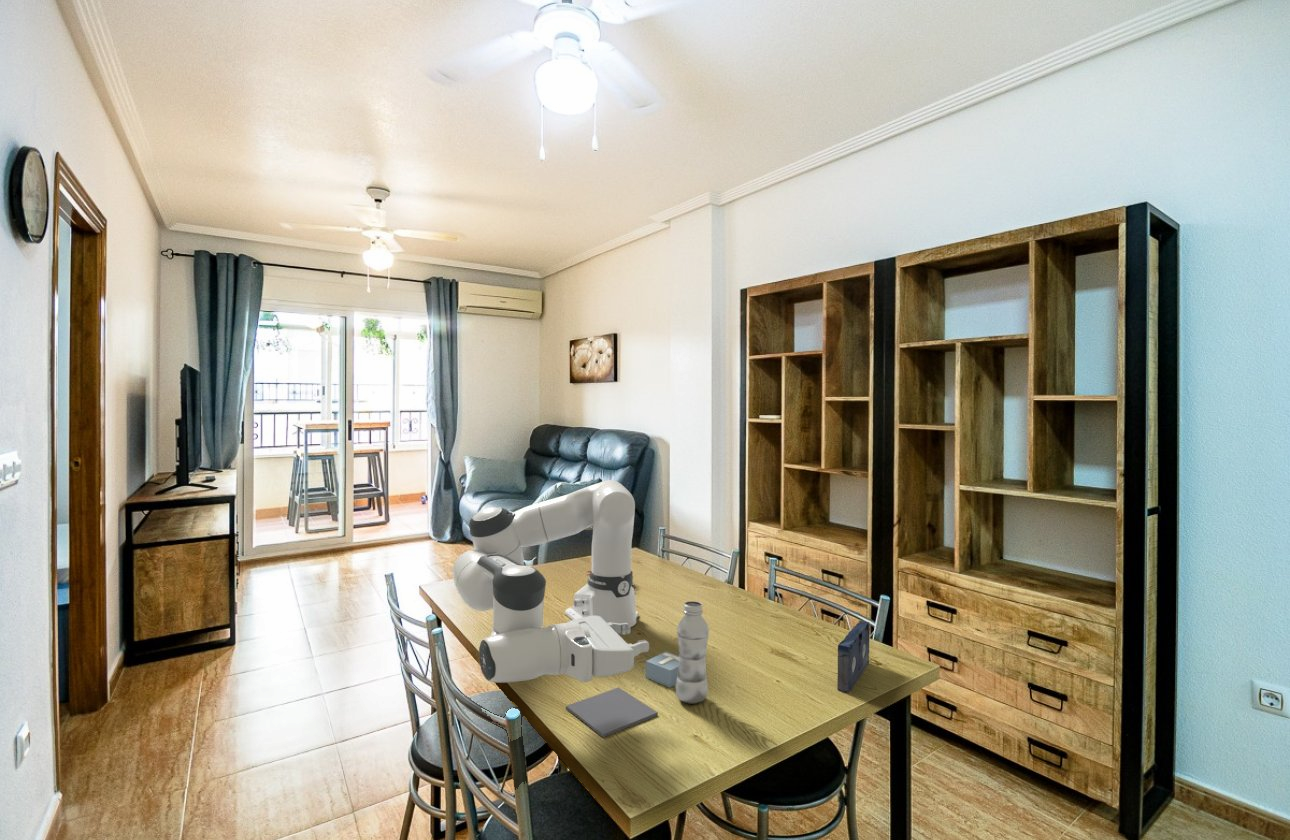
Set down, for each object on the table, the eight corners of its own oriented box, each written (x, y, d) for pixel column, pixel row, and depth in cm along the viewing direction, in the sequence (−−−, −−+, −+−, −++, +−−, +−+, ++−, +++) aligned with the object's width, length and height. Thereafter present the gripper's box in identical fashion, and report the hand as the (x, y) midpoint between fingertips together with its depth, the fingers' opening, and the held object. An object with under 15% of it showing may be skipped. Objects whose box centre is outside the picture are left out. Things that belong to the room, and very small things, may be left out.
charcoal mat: (565, 708, 119) (565, 705, 119) (618, 690, 128) (618, 687, 128) (602, 737, 109) (602, 734, 109) (657, 715, 117) (657, 712, 117)
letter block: (645, 678, 134) (645, 659, 133) (665, 668, 139) (665, 650, 139) (670, 688, 129) (670, 669, 129) (689, 677, 134) (690, 658, 134)
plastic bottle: (673, 692, 127) (674, 599, 126) (704, 692, 127) (706, 598, 127) (677, 708, 120) (678, 609, 120) (710, 707, 121) (712, 609, 120)
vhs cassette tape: (858, 660, 144) (859, 619, 144) (871, 664, 142) (872, 622, 142) (834, 690, 129) (835, 644, 129) (848, 694, 127) (849, 647, 127)
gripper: (555, 643, 122) (619, 633, 127) (586, 686, 103) (659, 673, 109) (556, 612, 122) (619, 604, 127) (586, 650, 103) (659, 638, 109)
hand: (638, 636), depth 118 cm, fingers open, 8 cm apart
